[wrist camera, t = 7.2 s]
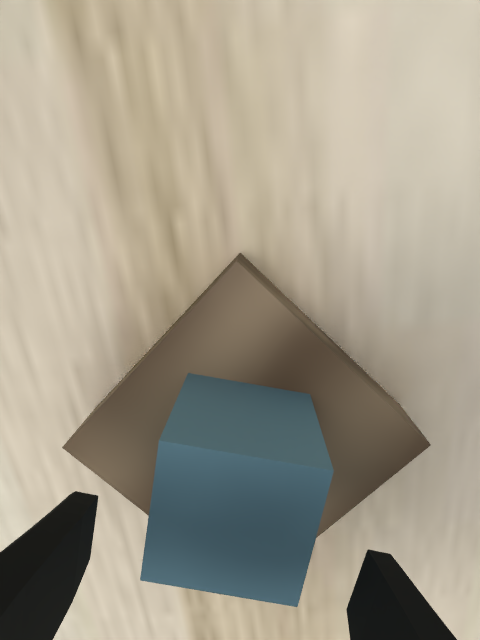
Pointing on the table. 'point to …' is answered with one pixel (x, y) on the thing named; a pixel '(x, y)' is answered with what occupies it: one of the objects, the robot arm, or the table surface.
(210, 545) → the teal cube
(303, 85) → the table surface
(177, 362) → the plate
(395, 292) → the table surface
